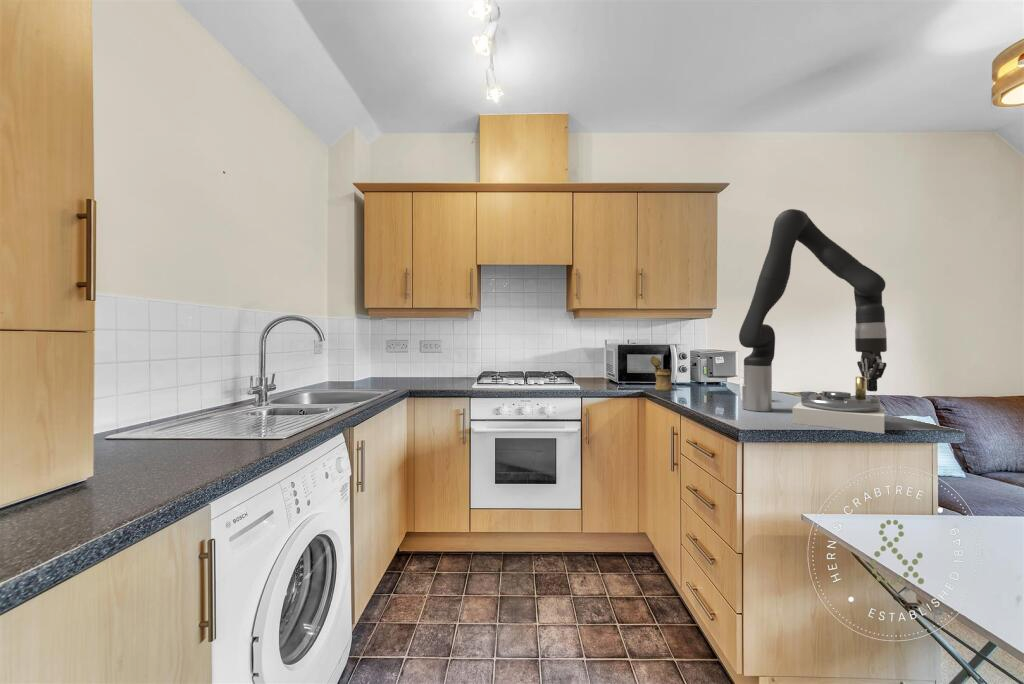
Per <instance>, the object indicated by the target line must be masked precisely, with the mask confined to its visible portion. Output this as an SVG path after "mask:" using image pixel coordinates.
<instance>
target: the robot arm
mask: <svg viewBox="0 0 1024 684" xmlns="http://www.w3.org/2000/svg"><path fill="white" fill-rule="evenodd" d="M797 242H798V243H800V244H802V245H803V246H804V247H806V249H808V250H809V251H810V252H811V253H812V254H813V255H814V256H815V257H816V259H817V260H818V261H819V262H820V263H821V264H822V265H823V266H824V267H825V268H826V269H827V270H829V271H830V272H831V273H832V274H833V275H835V276H836V277H838V278H840V280H841V279H842V280H843V281H846V283H848V284H849V285H850V286H851V287H853V292H854V293H853V294H854V303H855V328H854V344H855V345H854V346H855V351H856V353H861V355H860V361H857V362H856V363H857V367H858V369H859V372H860V375H861V377H865V379H866V392H877V391H878V380H879V379H881V378H883V377H882V376H883V375H884V372H885V370H886V368H887V366H888V365H887V362H883V359H882V358H883V357H882V353H885V352H887V350H888V344H887V342H888V341H887V340H888V339H887V327H886V312H885V307H884V305H883V292H884V290H885V288H886V281H885V279H884V277H883V276H882V275H880V274H879V273H877V272H876V271H874V270H873V269H871V268H870V267H868V266H866V265H865V264H863V263H861V262H860V261H859V259H857V258H856V257H854V256H853V255H852V254H850V253H849V252H848V251H847V250H846V249H844V247H841V246H840V245H839V244H837V243H836V242H835V241H833V240H832V239H831V238H829V237H828V236H827V235H825V233H823V232H822V230H820V229H819V228H818V226H816V224H815V223H814V222H813V221H812V219H811V218H810V216H808V214H807V213H806V212H805V211H803V210H801V209H796V208H795V209H794V208H790V209H787V210H783V211H782V212H780V213H779V214H778V215H777V217H776V218H775V220H774V223H773V227H772V232H771V237H770V244H769V247H768V251H767V254H766V256H765V259H764V262H763V264H762V268H761V270H760V273H759V277H758V279H757V282H756V287H755V290H754V293H753V296H752V300H751V302H750V306H749V308H748V311H747V312H746V316H745V318H744V319H743V323H742V325H741V327H740V330H739V333H738V334H739V335H738V340H739V344H740V345H741V346H742V347H743V348H748V349H752V352H751V353H750V354H749V355H748V356H745V357H744V359H743V377H744V384H743V385H742V400H741V401H742V404H741V405H742V407H741V408H742V410H748V411H753V412H771V411H773V410H772V409H773V405H772V404H773V403H772V402H773V401H772V399H773V398H772V396H773V395H772V394H773V390H772V389H773V387H772V384H773V380H772V379H773V377H772V376H773V371H772V370H773V368H772V366H773V363H772V362H773V360H774V358H775V350H776V334H775V330H774V328H773V327H772V326H771V325H769V324H767V323H766V324H765V323H764V321H765V319H766V316H767V314H768V313H769V312H770V311H771V309H773V307H774V306H775V305H776V303H778V302H779V301H780V300H781V298H782V296H783V295H784V293H785V291H786V288H787V286H788V282H789V279H790V275H791V269H792V268H791V267H792V255H793V251H794V248H795V246H796V243H797Z"/></svg>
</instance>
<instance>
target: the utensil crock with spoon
mask: <svg viewBox="0 0 1024 684" xmlns="http://www.w3.org/2000/svg"><path fill="white" fill-rule="evenodd" d="M650 363H651V364H652V365H653V367H655V369H654V375H655V385H654V390H655V391H660V392H661V391H662V392H671V391H672V392H673V390H674V388H673V386H672V385H673V384H672V378H671V377H672V374H671V371H670V369H668V368H664V369H663V368H661V365H662V363H661V361H660V358H658V357H656V356H654V355H652V356H651V358H650Z"/></svg>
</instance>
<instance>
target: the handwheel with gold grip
mask: <svg viewBox="0 0 1024 684" xmlns="http://www.w3.org/2000/svg"><path fill="white" fill-rule="evenodd" d="M821 392H822V394H811V391H802V392H801V394H800V395H801V396H800V402H801V404H802V405H804V406H808V407H813V408H819V409H827V410H836V411H849V412H876V411H880V406H881V397H870V398H867V389H866V379H865V377H862V376H855V396H851V395H852V394H851V393H850V392H845V391H826V390H825V391H824V390H823V391H821Z"/></svg>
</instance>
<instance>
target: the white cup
mask: <svg viewBox="0 0 1024 684" xmlns="http://www.w3.org/2000/svg"><path fill="white" fill-rule="evenodd" d="M738 380H739V381H738V382H739V393H740V401H742V385H743V384H744V376H742V377H740V376H739V379H738Z"/></svg>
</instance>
